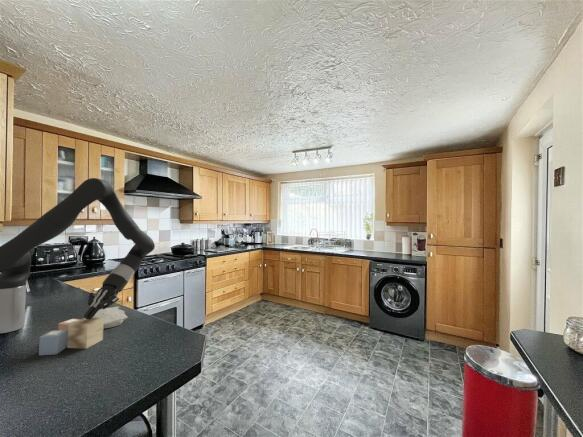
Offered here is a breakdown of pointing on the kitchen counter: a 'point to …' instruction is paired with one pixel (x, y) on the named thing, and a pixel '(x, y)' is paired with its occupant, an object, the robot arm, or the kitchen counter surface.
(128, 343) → the kitchen counter surface
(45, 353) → the blue label block
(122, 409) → the kitchen counter surface
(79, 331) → the plain block
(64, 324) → the terracotta label block
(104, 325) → the stone tool
